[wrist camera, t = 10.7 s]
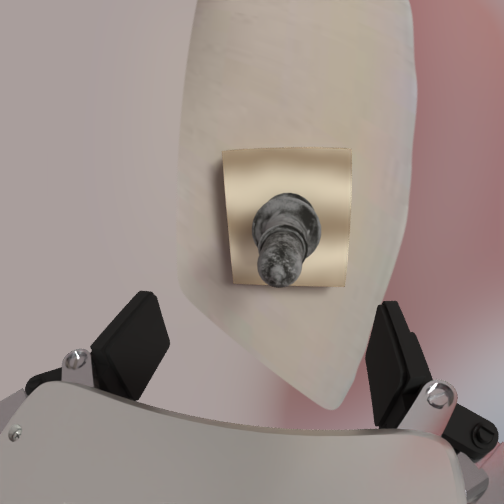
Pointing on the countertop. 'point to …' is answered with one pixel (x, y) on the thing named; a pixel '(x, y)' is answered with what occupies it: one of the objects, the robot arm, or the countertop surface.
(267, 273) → the weathered stone finial
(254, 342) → the countertop surface
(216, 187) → the countertop surface
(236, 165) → the birch base block
